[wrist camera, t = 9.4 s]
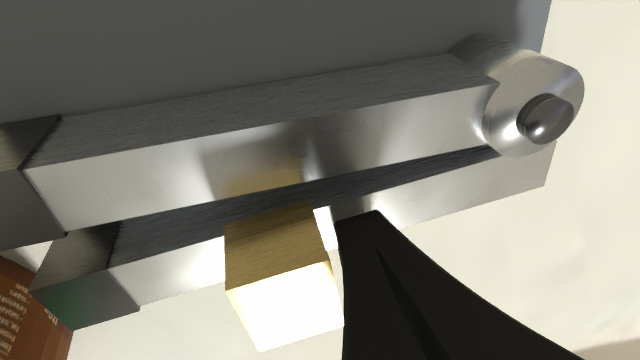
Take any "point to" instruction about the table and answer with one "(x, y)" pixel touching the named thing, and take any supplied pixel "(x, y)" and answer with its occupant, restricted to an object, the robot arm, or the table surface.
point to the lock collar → (280, 276)
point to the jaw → (277, 135)
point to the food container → (27, 320)
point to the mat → (222, 44)
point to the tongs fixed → (209, 218)
